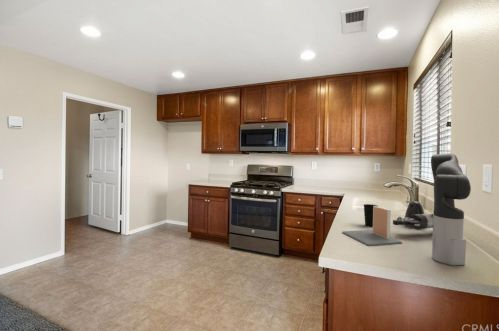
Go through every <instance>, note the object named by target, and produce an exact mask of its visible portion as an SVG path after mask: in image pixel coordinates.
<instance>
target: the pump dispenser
mask: <svg viewBox="0 0 499 331" xmlns="http://www.w3.org/2000/svg"><path fill="white" fill-rule="evenodd" d="M413 214H425V211H424V207H423V205H422V204H421V202H419V201H418V200H413V201H411V202H409V203H408V206H407V208H406V210H405V214H404V218H406V217H410V216H411V215H413ZM411 228H413V227H411ZM413 229H414V228H413Z"/></svg>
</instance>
